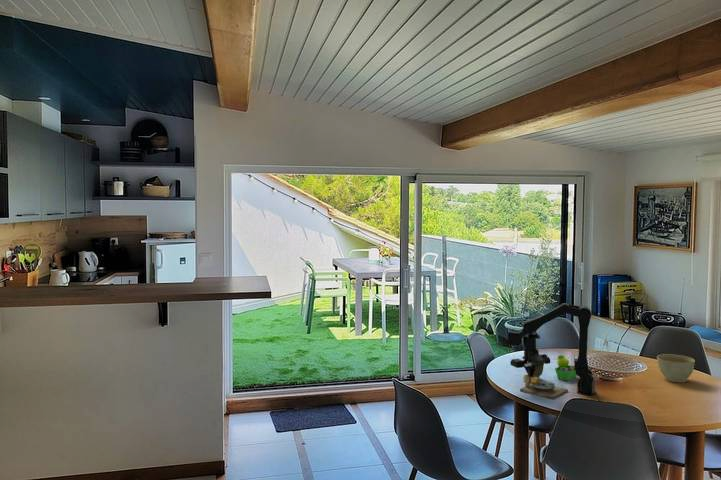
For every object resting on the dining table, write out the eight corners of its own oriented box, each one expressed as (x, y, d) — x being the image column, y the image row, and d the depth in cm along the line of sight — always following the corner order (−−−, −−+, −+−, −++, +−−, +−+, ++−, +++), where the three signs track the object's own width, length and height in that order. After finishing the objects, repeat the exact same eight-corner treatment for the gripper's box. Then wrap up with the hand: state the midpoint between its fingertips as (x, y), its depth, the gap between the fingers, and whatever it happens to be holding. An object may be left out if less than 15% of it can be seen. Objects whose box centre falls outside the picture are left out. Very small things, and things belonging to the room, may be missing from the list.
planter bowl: (657, 373, 275) (657, 352, 274) (694, 378, 266) (694, 356, 266) (655, 381, 261) (656, 359, 260) (694, 387, 253) (695, 364, 252)
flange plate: (558, 386, 247) (558, 379, 247) (548, 391, 240) (548, 383, 240) (529, 379, 258) (529, 372, 257) (519, 384, 251) (519, 377, 250)
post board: (567, 391, 247) (567, 381, 247) (552, 399, 237) (552, 389, 237) (535, 383, 259) (535, 374, 259) (520, 390, 248) (520, 381, 248)
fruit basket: (568, 382, 261) (568, 359, 261) (551, 377, 268) (551, 355, 268) (580, 377, 269) (580, 355, 268) (563, 373, 275) (563, 352, 275)
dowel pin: (530, 386, 251) (530, 376, 251) (528, 387, 250) (528, 377, 250) (526, 385, 252) (526, 375, 252) (524, 386, 251) (524, 376, 251)
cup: (544, 381, 263) (544, 365, 262) (529, 380, 264) (529, 364, 264) (542, 376, 270) (542, 361, 270) (527, 375, 272) (527, 360, 271)
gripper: (523, 353, 243) (524, 386, 244) (557, 348, 249) (558, 381, 250) (509, 347, 254) (510, 379, 255) (542, 343, 260) (543, 374, 260)
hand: (530, 379), depth 255 cm, fingers closed
